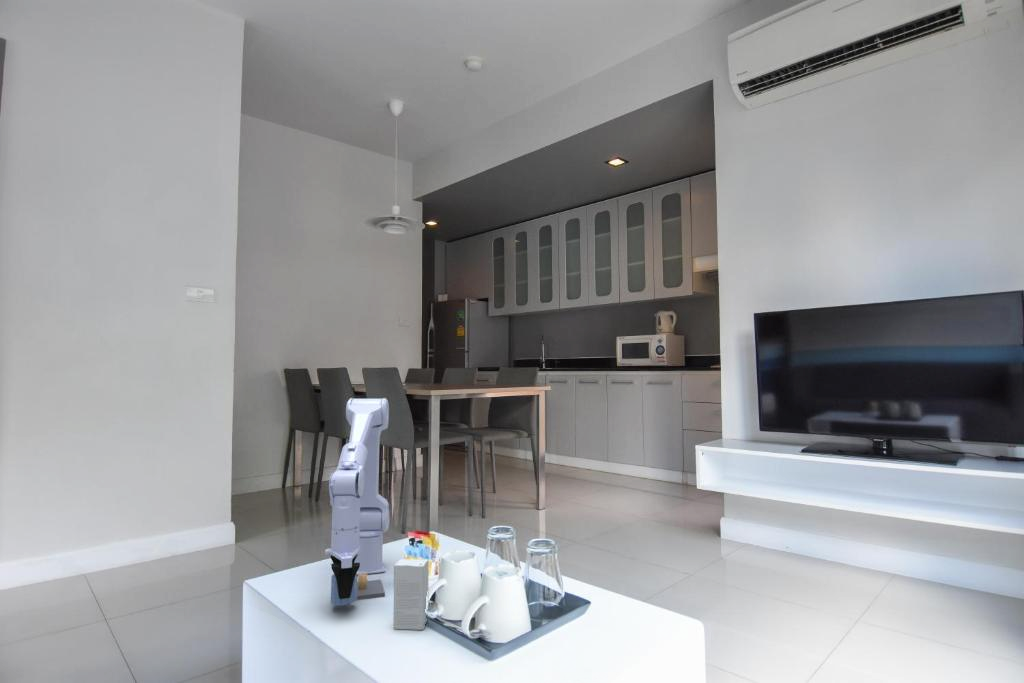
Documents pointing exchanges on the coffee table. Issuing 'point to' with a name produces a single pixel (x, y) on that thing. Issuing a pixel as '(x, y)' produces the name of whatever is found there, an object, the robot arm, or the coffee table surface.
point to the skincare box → (410, 594)
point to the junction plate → (369, 588)
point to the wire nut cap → (335, 596)
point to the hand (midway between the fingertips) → (343, 593)
